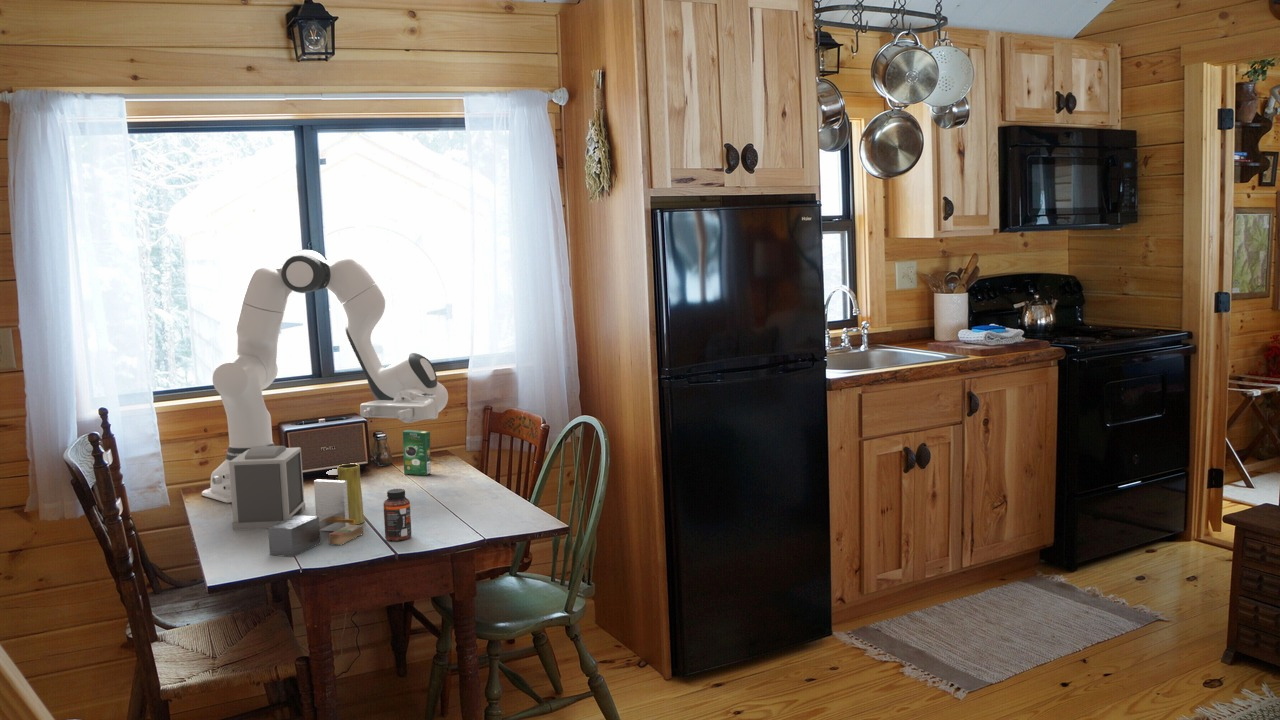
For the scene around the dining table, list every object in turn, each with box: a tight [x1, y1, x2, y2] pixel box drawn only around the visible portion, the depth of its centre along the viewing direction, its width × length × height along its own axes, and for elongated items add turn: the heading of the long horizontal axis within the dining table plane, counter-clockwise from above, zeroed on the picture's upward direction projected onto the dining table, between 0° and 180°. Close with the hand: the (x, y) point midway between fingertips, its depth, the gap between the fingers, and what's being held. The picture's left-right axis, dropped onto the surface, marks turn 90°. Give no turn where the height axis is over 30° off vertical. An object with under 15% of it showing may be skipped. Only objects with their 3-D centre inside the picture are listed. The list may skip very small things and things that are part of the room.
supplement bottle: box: [383, 488, 412, 542], centre depth 231 cm, size 6×6×11 cm
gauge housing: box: [267, 514, 321, 557], centre depth 225 cm, size 6×10×6 cm, turn 162°
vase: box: [337, 463, 365, 525], centre depth 245 cm, size 6×6×14 cm
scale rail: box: [328, 524, 364, 546], centre depth 232 cm, size 3×9×2 cm, turn 162°
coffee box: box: [402, 429, 432, 476], centre depth 296 cm, size 8×3×13 cm, turn 71°
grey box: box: [229, 445, 306, 531], centre depth 251 cm, size 18×13×18 cm
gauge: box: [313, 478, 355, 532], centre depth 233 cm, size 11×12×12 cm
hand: (381, 414), depth 259 cm, fingers open, 8 cm apart
